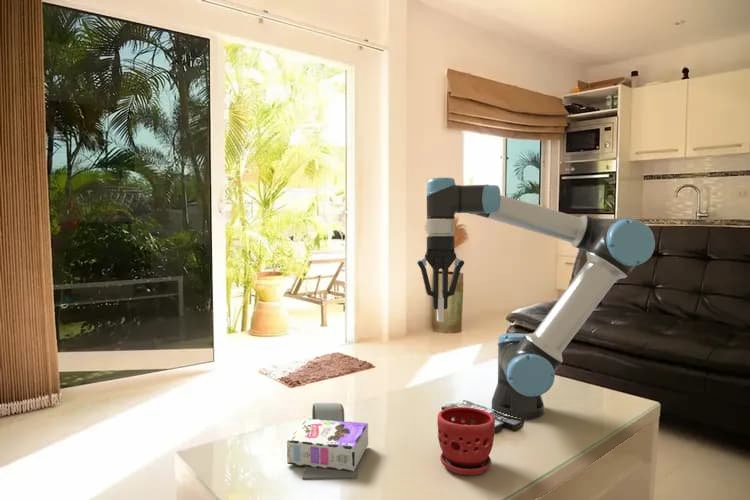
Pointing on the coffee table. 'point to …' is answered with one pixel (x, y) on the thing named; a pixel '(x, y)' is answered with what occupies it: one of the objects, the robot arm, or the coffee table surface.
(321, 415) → the ceramic mug
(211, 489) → the coffee table surface
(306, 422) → the candy box
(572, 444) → the coffee table surface
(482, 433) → the plant pot
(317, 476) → the mat
